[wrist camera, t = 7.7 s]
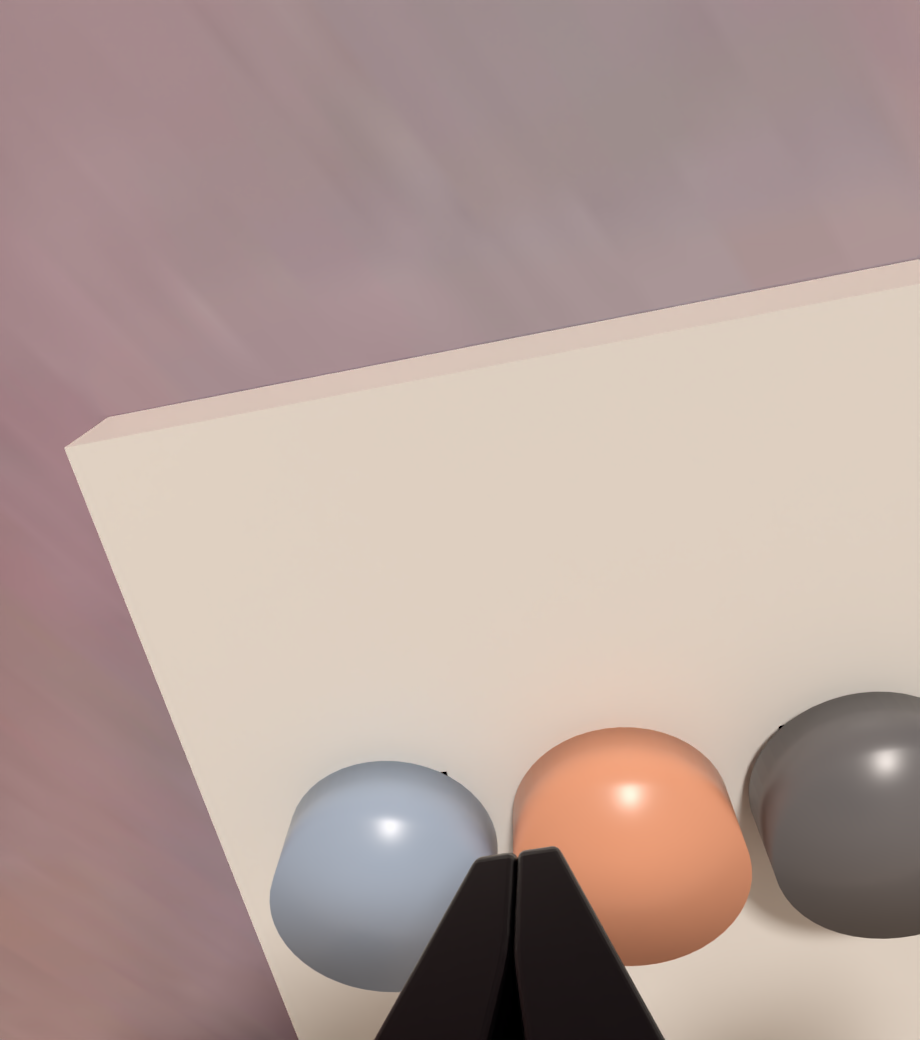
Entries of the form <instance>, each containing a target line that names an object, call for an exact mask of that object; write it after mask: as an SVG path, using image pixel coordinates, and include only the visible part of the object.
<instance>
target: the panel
mask: <svg viewBox="0 0 920 1040" xmlns="http://www.w3.org/2000/svg"><path fill="white" fill-rule="evenodd" d="M64 449H65V451H66V454H67V456H68V459H69V461H70V464H71V466H72V469H73V471H74V474H75V476H76V479H77V481H78V484H79V486H80V489H81V491H82V494H83V496H84V499H85V502H86V504H87V507H88V509H89V512H90V514H91V517H92V519H93V522H94V524H95V527H96V529H97V532H98V534H99V537H100V539H101V542H102V544H103V547H104V550H105V552H106V555H107V557H108V560H109V562H110V565H111V567H112V570H113V572H114V575H115V577H116V580H117V582H118V585H119V587H120V590H121V592H122V595H123V597H124V600H125V603H126V605H127V608H128V610H129V613H130V615H131V618H132V620H133V623H134V625H135V628H136V630H137V633H138V635H139V638H140V640H141V643H142V645H143V648H144V651H145V653H146V656H147V658H148V661H149V663H150V666H151V668H152V671H153V673H154V676H155V678H156V681H157V683H158V686H159V688H160V691H161V693H162V696H163V698H164V701H165V704H166V706H167V709H168V711H169V714H170V716H171V719H172V721H173V724H174V726H175V729H176V731H177V734H178V736H179V739H180V741H181V744H182V746H183V749H184V752H185V754H186V757H187V759H188V762H189V764H190V767H191V769H192V772H193V774H194V777H195V779H196V782H197V784H198V787H199V789H200V792H201V794H202V797H203V800H204V802H205V805H206V807H207V810H208V812H209V815H210V817H211V820H212V822H213V825H214V827H215V830H216V832H217V835H218V837H219V840H220V842H221V845H222V847H223V850H224V853H225V855H226V858H227V860H228V863H229V865H230V868H231V870H232V873H233V875H234V878H235V880H236V883H237V885H238V888H239V890H240V893H241V895H242V898H243V901H244V903H245V906H246V908H247V911H248V913H249V916H250V918H251V921H252V923H253V926H254V928H255V931H256V933H257V936H258V938H259V941H260V943H261V946H262V948H263V951H264V954H265V956H266V959H267V961H268V964H269V966H270V969H271V971H272V974H273V976H274V979H275V981H276V984H277V986H278V989H279V991H280V994H281V996H282V999H283V1002H284V1004H285V1007H286V1009H287V1012H288V1014H289V1017H290V1019H291V1022H292V1024H293V1027H294V1029H295V1032H296V1034H297V1037H298V1039H299V1040H374V1039H375V1037H376V1035H377V1033H378V1032H379V1030H380V1028H381V1026H382V1024H383V1023H384V1021H385V1019H386V1017H387V1015H388V1014H389V1012H390V1010H391V1008H392V1007H393V1005H394V1003H395V1001H396V999H397V998H398V996H399V994H400V992H379V991H371V990H364V989H360V988H355V987H351V986H348V985H345V984H342V983H339V982H337V981H334V980H332V979H330V978H327V977H325V976H324V975H322V974H320V973H318V972H316V971H315V970H313V969H312V968H310V967H309V966H308V965H306V964H305V963H303V962H302V961H301V960H300V959H299V958H298V957H297V956H295V955H294V954H293V952H292V951H291V950H290V949H289V948H288V947H287V946H286V944H285V943H284V941H283V940H282V938H281V937H280V935H279V934H278V931H277V929H276V927H275V925H274V922H273V919H272V916H271V911H270V902H269V901H270V889H271V885H272V881H273V877H274V874H275V871H276V868H277V864H278V861H279V858H280V855H281V852H282V848H283V845H284V842H285V839H286V835H287V832H288V829H289V826H290V823H291V819H292V816H293V814H294V812H295V809H296V807H297V805H298V804H299V802H300V801H301V799H302V797H303V796H304V795H305V794H306V793H307V792H308V791H309V789H310V788H312V787H313V786H314V785H315V784H316V783H317V782H319V781H320V780H322V779H323V778H325V777H326V776H328V775H330V774H332V773H334V772H336V771H338V770H340V769H343V768H346V767H349V766H352V765H356V764H361V763H366V762H375V761H399V762H406V763H412V764H417V765H421V766H425V767H428V768H430V769H433V770H436V771H439V772H446V771H447V775H448V776H449V777H451V778H452V779H454V780H455V781H457V782H459V783H460V784H462V785H463V786H464V787H465V788H467V789H468V790H469V791H470V792H471V793H472V794H473V795H474V796H475V797H476V798H477V799H478V800H479V801H480V802H481V804H482V805H483V806H484V808H485V809H486V811H487V812H488V814H489V816H490V818H491V820H492V822H493V825H494V828H495V831H496V836H497V843H498V853H497V854H502V853H513V804H514V799H515V795H516V792H517V789H518V787H519V785H520V783H521V781H522V779H523V777H524V776H525V774H526V773H527V772H528V770H529V769H530V768H531V766H532V765H533V764H534V763H535V762H536V761H537V760H538V759H539V758H540V757H541V756H543V755H544V754H545V753H546V752H548V751H549V750H550V749H552V748H553V747H555V746H557V745H558V744H560V743H562V742H564V741H566V740H568V739H570V738H573V737H575V736H577V735H580V734H584V733H587V732H590V731H595V730H600V729H605V728H616V727H635V728H643V729H650V730H654V731H658V732H662V733H666V734H668V735H671V736H674V737H676V738H678V739H680V740H682V741H684V742H686V743H688V744H690V745H691V746H693V747H694V748H696V749H697V750H698V751H700V752H701V753H702V754H703V755H704V756H705V757H706V758H708V759H709V760H710V761H711V763H712V764H713V765H714V766H715V768H716V769H717V770H718V772H719V774H720V775H721V777H722V779H723V781H724V783H725V786H726V789H727V791H728V794H729V797H730V800H731V803H732V806H733V809H734V811H735V814H736V817H737V820H738V823H739V826H740V829H741V832H742V834H743V837H744V840H745V843H746V846H747V849H748V852H749V855H750V860H751V865H752V882H751V888H750V892H749V895H748V898H747V901H746V903H745V905H744V907H743V909H742V911H741V913H740V914H739V915H738V917H737V918H736V919H735V921H734V922H733V923H732V924H731V925H730V926H729V927H728V929H727V930H726V931H725V932H724V933H722V934H721V935H720V936H719V937H717V938H716V939H715V940H714V941H712V942H711V943H709V944H707V945H706V946H704V947H703V948H701V949H699V950H697V951H695V952H693V953H691V954H688V955H686V956H683V957H680V958H677V959H675V960H671V961H667V962H663V963H658V964H651V965H643V966H625V968H626V970H627V971H628V973H629V975H630V977H631V979H632V981H633V982H634V984H635V986H636V988H637V990H638V991H639V993H640V995H641V997H642V999H643V1001H644V1002H645V1004H646V1006H647V1008H648V1010H649V1011H650V1013H651V1015H652V1017H653V1019H654V1020H655V1022H656V1024H657V1026H658V1028H659V1030H660V1031H661V1033H662V1035H663V1037H664V1039H665V1040H920V934H919V935H915V936H909V937H902V938H890V939H871V938H861V937H853V936H849V935H845V934H841V933H837V932H834V931H832V930H829V929H826V928H824V927H822V926H820V925H818V924H816V923H814V922H812V921H811V920H809V919H808V918H806V917H805V916H803V915H802V914H801V913H800V912H799V911H797V910H796V909H795V908H794V907H793V906H792V905H791V904H790V902H789V901H788V900H787V899H786V897H785V896H784V894H783V892H782V891H781V889H780V887H779V885H778V882H777V879H776V877H775V874H774V871H773V869H772V866H771V863H770V861H769V858H768V855H767V852H766V850H765V847H764V844H763V842H762V839H761V836H760V834H759V831H758V828H757V826H756V823H755V820H754V818H753V815H752V812H751V808H750V803H749V784H750V777H751V774H752V771H753V767H754V765H755V763H756V761H757V759H758V756H759V754H760V753H761V751H762V750H763V748H764V747H765V745H766V744H767V742H768V741H769V740H770V739H771V738H772V737H773V736H774V735H775V733H776V732H777V731H779V726H782V725H785V724H786V723H788V722H789V721H790V720H792V719H793V718H795V717H796V716H798V715H799V714H801V713H803V712H804V711H806V710H808V709H810V708H812V707H814V706H816V705H818V704H821V703H823V702H825V701H828V700H831V699H834V698H838V697H841V696H845V695H850V694H856V693H863V692H895V693H903V694H908V695H912V696H916V697H920V259H917V260H912V261H907V262H902V263H897V264H892V265H887V266H881V267H876V268H871V269H866V270H861V271H856V272H851V273H845V274H840V275H835V276H830V277H825V278H820V279H815V280H810V281H804V282H799V283H794V284H789V285H784V286H779V287H774V288H769V289H763V290H758V291H753V292H748V293H743V294H738V295H733V296H728V297H722V298H717V299H712V300H707V301H702V302H697V303H692V304H686V305H681V306H676V307H671V308H666V309H661V310H656V311H651V312H645V313H640V314H635V315H630V316H625V317H620V318H615V319H610V320H604V321H599V322H594V323H589V324H584V325H579V326H574V327H569V328H563V329H558V330H553V331H548V332H543V333H538V334H533V335H527V336H522V337H517V338H512V339H507V340H502V341H497V342H492V343H486V344H481V345H476V346H471V347H466V348H461V349H456V350H451V351H445V352H440V353H435V354H430V355H425V356H420V357H415V358H410V359H404V360H399V361H394V362H389V363H384V364H379V365H374V366H368V367H363V368H358V369H353V370H348V371H343V372H338V373H333V374H327V375H322V376H317V377H312V378H307V379H302V380H297V381H292V382H286V383H281V384H276V385H271V386H266V387H261V388H256V389H250V390H245V391H240V392H235V393H230V394H225V395H220V396H215V397H209V398H204V399H199V400H194V401H189V402H184V403H179V404H174V405H168V406H163V407H158V408H153V409H148V410H143V411H138V412H133V413H127V414H122V415H117V416H112V417H108V418H106V419H105V420H104V421H102V422H101V423H99V424H98V425H96V426H95V427H94V428H92V429H91V430H89V431H88V432H86V433H85V434H84V435H82V436H81V437H79V438H78V439H76V440H75V441H73V442H72V443H71V444H69V445H68V446H66V447H65V448H64Z"/></svg>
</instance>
